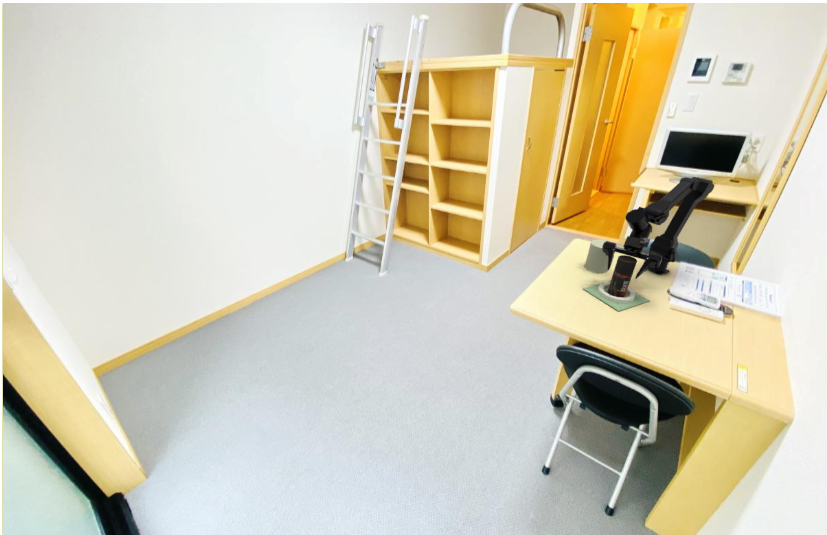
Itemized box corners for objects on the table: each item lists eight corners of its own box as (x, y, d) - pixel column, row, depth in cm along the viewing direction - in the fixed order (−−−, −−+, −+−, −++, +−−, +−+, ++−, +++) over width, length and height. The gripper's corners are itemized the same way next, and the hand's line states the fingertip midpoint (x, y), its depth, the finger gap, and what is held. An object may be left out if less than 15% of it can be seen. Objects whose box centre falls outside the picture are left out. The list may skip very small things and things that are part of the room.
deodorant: (617, 299, 127) (629, 264, 119) (603, 291, 131) (614, 257, 124) (628, 296, 129) (641, 260, 121) (614, 288, 133) (625, 254, 126)
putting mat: (612, 280, 139) (613, 276, 138) (649, 301, 126) (651, 296, 125) (582, 289, 134) (583, 284, 133) (618, 311, 121) (619, 307, 120)
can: (611, 273, 144) (619, 247, 139) (589, 273, 145) (596, 247, 139) (601, 262, 152) (609, 238, 147) (580, 262, 153) (587, 238, 147)
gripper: (610, 220, 125) (593, 258, 123) (671, 234, 114) (652, 275, 112) (611, 233, 134) (595, 268, 132) (667, 247, 123) (650, 286, 121)
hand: (621, 274), depth 124 cm, fingers open, 9 cm apart
